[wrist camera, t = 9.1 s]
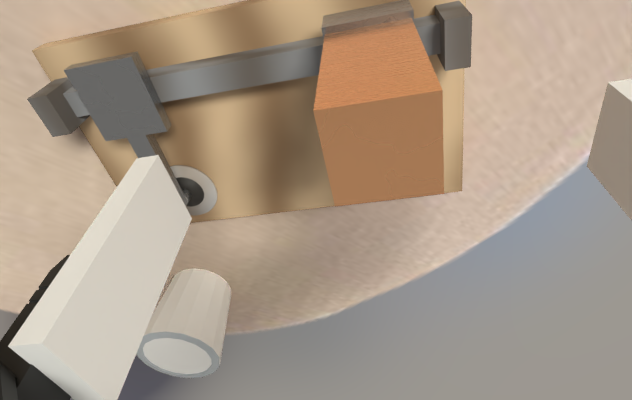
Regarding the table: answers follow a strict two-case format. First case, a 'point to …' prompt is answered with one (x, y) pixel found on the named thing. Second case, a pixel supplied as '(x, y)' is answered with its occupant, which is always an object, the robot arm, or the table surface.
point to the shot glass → (188, 325)
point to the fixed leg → (124, 104)
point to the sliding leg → (378, 107)
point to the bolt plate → (246, 98)
